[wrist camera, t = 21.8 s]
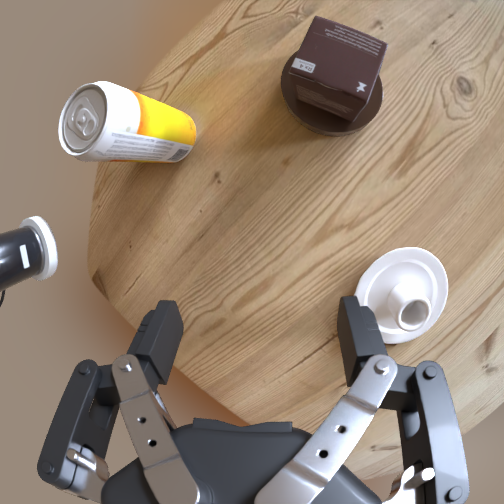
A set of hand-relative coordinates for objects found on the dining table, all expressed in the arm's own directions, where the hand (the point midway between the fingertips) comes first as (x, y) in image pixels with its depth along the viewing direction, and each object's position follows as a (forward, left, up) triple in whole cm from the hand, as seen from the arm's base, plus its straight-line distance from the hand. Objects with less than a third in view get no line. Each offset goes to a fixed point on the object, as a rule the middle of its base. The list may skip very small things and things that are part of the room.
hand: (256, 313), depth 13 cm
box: (+5, +16, -15) cm, 22 cm away
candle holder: (+14, -6, -17) cm, 23 cm away
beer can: (-12, +11, -17) cm, 24 cm away
